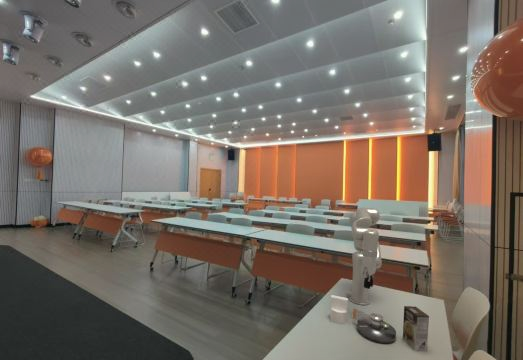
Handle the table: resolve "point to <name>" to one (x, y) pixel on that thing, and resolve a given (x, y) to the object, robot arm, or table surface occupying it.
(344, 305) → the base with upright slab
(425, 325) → the coffee box
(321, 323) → the table surface
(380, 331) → the dark round disc base
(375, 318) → the orange-tipped joystick
